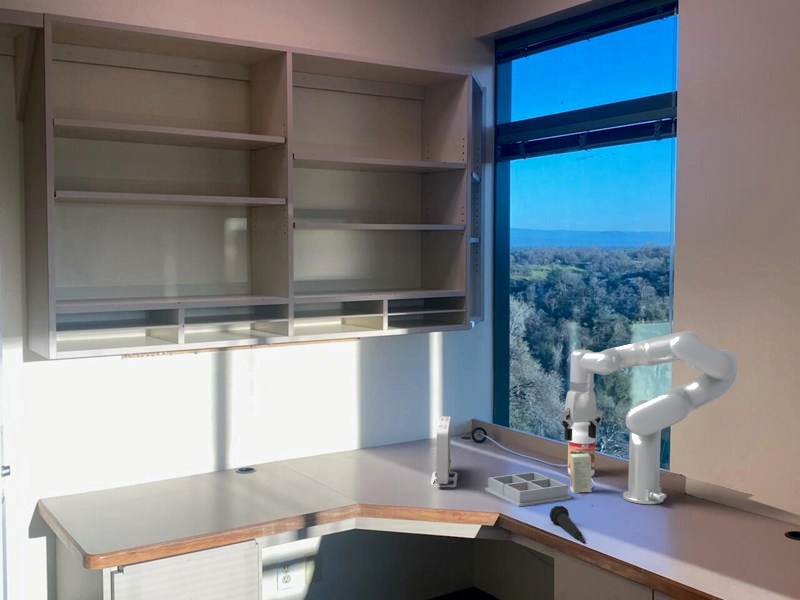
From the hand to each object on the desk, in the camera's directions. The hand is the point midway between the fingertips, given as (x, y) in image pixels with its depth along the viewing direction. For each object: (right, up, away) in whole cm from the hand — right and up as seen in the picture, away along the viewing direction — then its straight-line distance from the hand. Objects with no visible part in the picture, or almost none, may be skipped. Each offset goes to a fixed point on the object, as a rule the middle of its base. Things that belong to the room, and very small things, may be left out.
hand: (580, 438), depth 275 cm
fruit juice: (+5, -17, +23) cm, 28 cm away
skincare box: (0, -18, +1) cm, 18 cm away
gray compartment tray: (-18, -18, -3) cm, 25 cm away
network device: (-44, -17, +14) cm, 49 cm away
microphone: (-12, -20, -39) cm, 46 cm away
